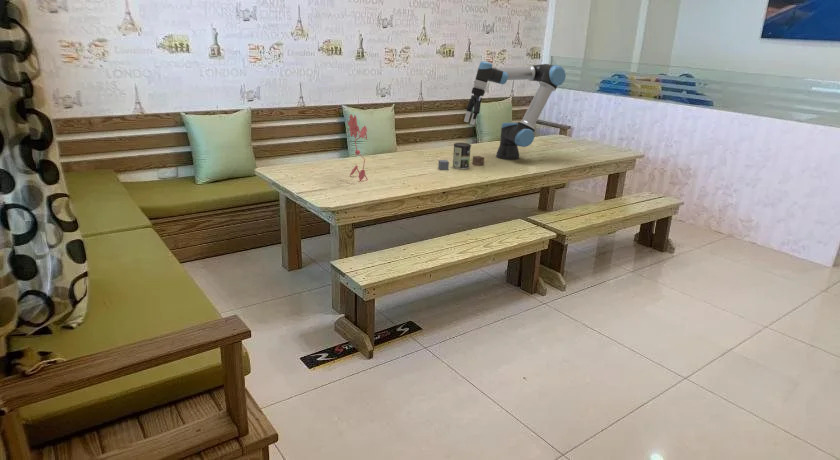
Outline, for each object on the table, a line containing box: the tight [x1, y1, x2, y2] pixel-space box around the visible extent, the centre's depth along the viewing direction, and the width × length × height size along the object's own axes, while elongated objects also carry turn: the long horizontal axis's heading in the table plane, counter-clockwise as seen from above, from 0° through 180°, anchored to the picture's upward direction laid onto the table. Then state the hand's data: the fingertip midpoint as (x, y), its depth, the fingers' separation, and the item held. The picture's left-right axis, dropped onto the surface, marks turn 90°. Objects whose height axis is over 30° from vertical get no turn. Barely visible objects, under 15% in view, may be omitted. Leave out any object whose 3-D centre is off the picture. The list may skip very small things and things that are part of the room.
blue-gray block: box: [437, 159, 450, 171], centre depth 324 cm, size 5×5×5 cm
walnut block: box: [472, 155, 485, 167], centre depth 339 cm, size 5×5×5 cm
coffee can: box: [452, 142, 472, 170], centre depth 329 cm, size 10×10×14 cm
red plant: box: [341, 113, 369, 185], centre depth 289 cm, size 15×26×35 cm, turn 29°
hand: (468, 123), depth 329 cm, fingers open, 13 cm apart
